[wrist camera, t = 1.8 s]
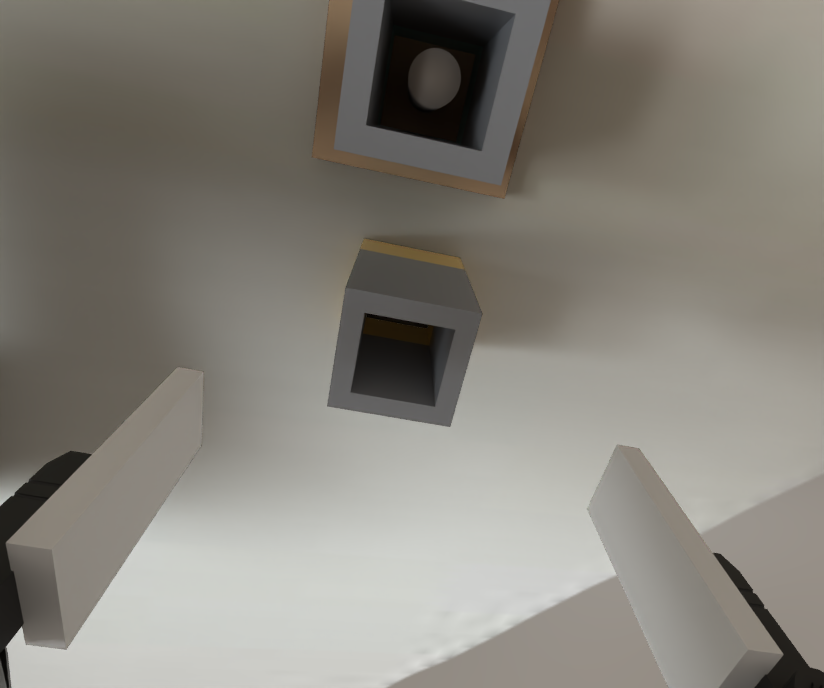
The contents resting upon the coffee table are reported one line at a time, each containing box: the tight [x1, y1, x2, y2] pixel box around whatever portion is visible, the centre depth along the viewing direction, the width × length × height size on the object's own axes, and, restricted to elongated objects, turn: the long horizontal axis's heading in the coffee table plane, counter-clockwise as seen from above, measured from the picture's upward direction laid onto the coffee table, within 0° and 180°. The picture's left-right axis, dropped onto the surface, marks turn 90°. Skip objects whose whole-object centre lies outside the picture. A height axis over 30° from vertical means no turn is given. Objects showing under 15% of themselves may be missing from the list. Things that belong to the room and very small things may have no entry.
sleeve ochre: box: [327, 238, 482, 427], centre depth 24 cm, size 6×6×9 cm
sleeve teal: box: [334, 0, 551, 186], centre depth 19 cm, size 6×6×9 cm
